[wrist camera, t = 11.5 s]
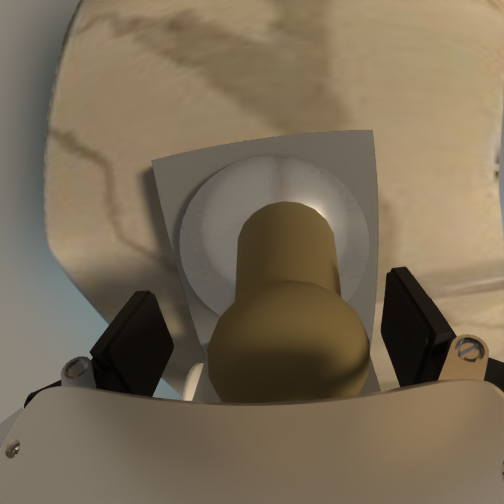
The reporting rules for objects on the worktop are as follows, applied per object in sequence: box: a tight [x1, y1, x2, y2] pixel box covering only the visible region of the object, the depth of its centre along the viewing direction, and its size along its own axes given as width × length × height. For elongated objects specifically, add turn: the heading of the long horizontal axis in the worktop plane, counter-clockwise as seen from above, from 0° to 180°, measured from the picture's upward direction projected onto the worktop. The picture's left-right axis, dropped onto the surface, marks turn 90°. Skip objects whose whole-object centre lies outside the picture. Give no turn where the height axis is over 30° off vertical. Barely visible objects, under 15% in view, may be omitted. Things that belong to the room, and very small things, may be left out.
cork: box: [207, 201, 370, 403], centre depth 12 cm, size 6×6×11 cm
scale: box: [152, 130, 381, 403], centre depth 17 cm, size 20×14×12 cm
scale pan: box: [179, 155, 369, 316], centre depth 18 cm, size 12×12×1 cm
